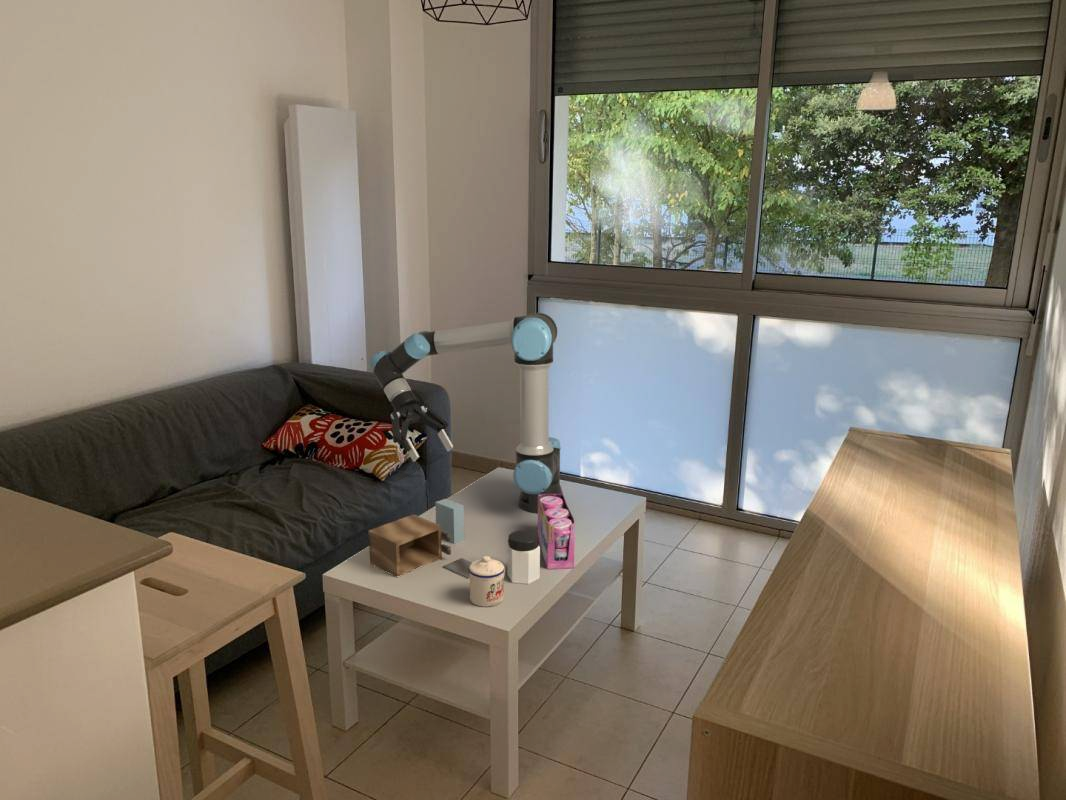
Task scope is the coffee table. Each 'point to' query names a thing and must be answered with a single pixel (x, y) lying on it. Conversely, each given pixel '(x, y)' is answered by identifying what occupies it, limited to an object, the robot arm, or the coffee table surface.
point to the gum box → (556, 531)
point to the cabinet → (411, 546)
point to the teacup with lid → (486, 582)
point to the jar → (523, 557)
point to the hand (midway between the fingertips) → (433, 454)
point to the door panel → (451, 519)
